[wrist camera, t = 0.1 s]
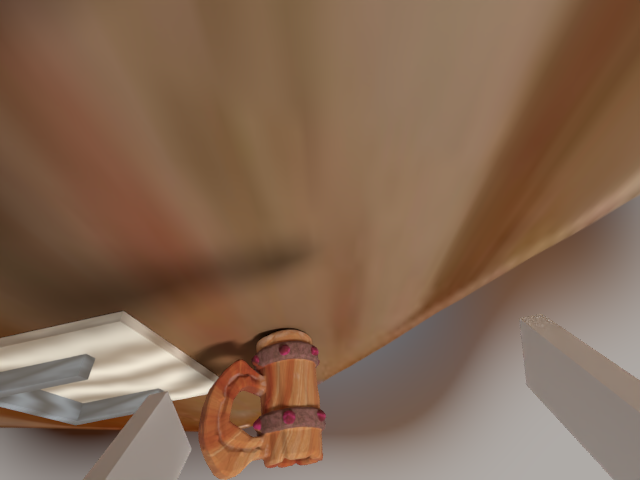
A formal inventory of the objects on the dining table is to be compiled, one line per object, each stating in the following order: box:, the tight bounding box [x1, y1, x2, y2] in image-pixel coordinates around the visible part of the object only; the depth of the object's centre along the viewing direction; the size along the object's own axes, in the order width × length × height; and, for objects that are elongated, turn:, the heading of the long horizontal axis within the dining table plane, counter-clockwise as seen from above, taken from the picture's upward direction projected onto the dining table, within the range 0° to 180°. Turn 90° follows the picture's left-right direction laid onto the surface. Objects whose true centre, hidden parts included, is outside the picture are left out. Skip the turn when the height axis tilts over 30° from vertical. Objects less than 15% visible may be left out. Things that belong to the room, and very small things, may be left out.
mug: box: [199, 329, 325, 480], centre depth 36 cm, size 15×8×15 cm, turn 59°
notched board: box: [0, 311, 219, 425], centre depth 42 cm, size 26×22×4 cm
